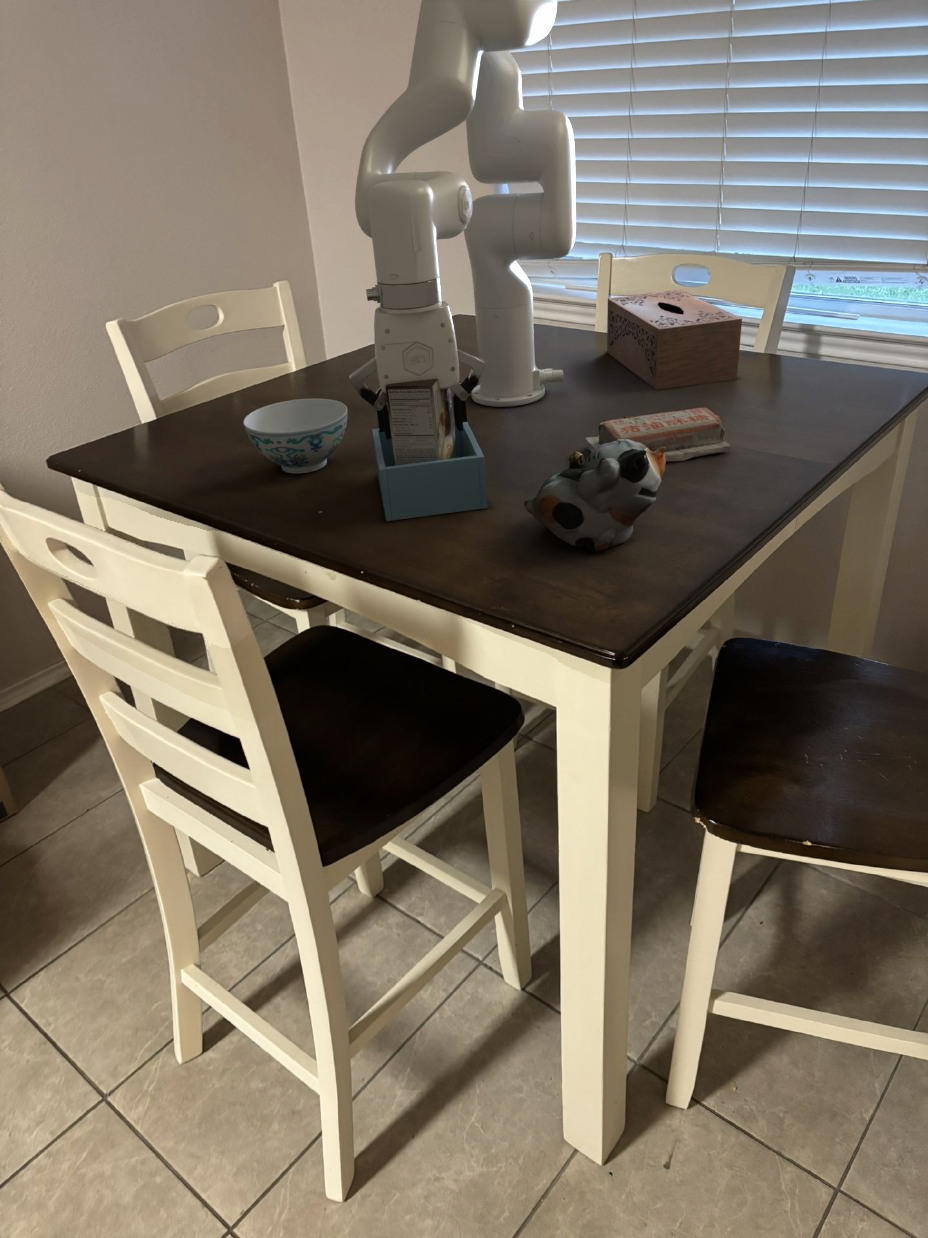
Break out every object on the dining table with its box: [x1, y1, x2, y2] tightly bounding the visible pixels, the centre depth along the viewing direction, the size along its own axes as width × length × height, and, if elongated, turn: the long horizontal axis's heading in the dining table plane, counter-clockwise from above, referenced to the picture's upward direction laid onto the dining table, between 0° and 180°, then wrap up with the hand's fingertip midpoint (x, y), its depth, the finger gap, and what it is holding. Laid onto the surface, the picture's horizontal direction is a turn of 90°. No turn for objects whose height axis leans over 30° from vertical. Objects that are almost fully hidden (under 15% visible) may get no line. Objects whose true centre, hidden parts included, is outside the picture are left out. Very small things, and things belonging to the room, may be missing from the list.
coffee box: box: [385, 379, 457, 466], centre depth 117 cm, size 9×6×16 cm
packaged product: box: [585, 407, 732, 463], centre depth 126 cm, size 18×5×10 cm
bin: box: [371, 420, 488, 522], centre depth 119 cm, size 13×16×7 cm
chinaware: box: [242, 398, 349, 474], centre depth 131 cm, size 15×15×8 cm
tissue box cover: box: [606, 289, 743, 391], centre depth 160 cm, size 26×14×10 cm, turn 11°
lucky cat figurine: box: [523, 439, 666, 553], centre depth 103 cm, size 15×12×14 cm
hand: (423, 431), depth 116 cm, fingers open, 9 cm apart
